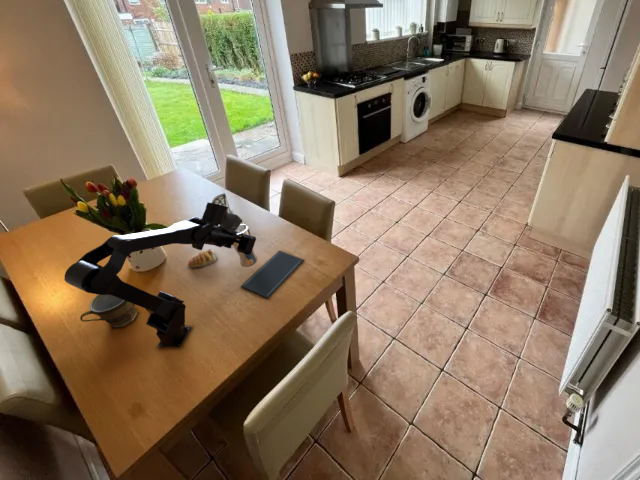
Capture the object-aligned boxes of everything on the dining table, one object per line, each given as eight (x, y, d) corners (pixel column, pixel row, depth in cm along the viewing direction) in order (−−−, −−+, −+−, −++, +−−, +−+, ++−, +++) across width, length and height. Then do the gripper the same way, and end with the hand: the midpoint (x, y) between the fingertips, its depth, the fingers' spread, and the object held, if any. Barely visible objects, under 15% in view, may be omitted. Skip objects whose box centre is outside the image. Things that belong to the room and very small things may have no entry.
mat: (267, 298, 108) (267, 297, 108) (241, 286, 112) (241, 285, 112) (303, 260, 124) (303, 259, 123) (279, 251, 128) (279, 250, 128)
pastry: (191, 272, 118) (187, 265, 116) (187, 262, 122) (184, 255, 120) (217, 261, 123) (214, 254, 121) (213, 252, 127) (210, 245, 125)
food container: (216, 212, 150) (210, 195, 145) (230, 209, 152) (225, 192, 147) (216, 227, 141) (210, 209, 136) (231, 224, 143) (225, 206, 138)
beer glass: (235, 264, 118) (223, 231, 112) (251, 253, 124) (240, 222, 117) (247, 270, 115) (235, 237, 108) (262, 259, 120) (252, 226, 113)
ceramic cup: (137, 300, 107) (124, 280, 102) (147, 316, 102) (134, 296, 96) (89, 326, 99) (72, 306, 93) (98, 346, 93) (81, 325, 88)
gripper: (246, 219, 101) (274, 226, 115) (202, 206, 107) (234, 215, 121) (233, 253, 99) (263, 256, 113) (189, 238, 104) (223, 243, 119)
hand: (246, 241), depth 117 cm, fingers closed on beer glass, 7 cm apart
